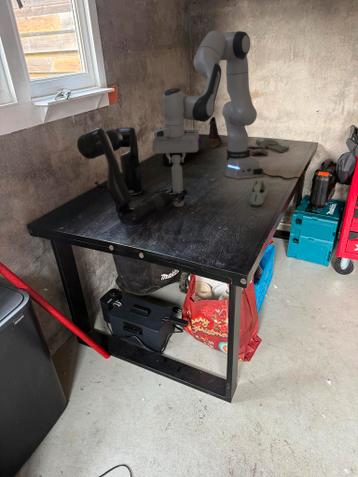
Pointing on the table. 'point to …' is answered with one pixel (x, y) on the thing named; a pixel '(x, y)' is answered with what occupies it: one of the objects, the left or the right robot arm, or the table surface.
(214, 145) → the boot
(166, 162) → the handbag
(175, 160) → the cap
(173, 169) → the bottle
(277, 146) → the pair of gloves
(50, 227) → the table surface
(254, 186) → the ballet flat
